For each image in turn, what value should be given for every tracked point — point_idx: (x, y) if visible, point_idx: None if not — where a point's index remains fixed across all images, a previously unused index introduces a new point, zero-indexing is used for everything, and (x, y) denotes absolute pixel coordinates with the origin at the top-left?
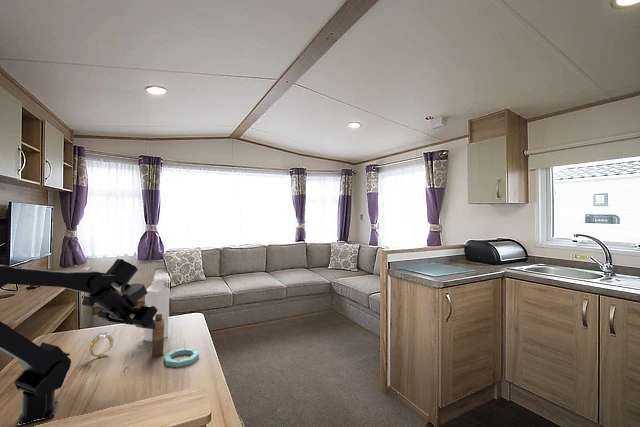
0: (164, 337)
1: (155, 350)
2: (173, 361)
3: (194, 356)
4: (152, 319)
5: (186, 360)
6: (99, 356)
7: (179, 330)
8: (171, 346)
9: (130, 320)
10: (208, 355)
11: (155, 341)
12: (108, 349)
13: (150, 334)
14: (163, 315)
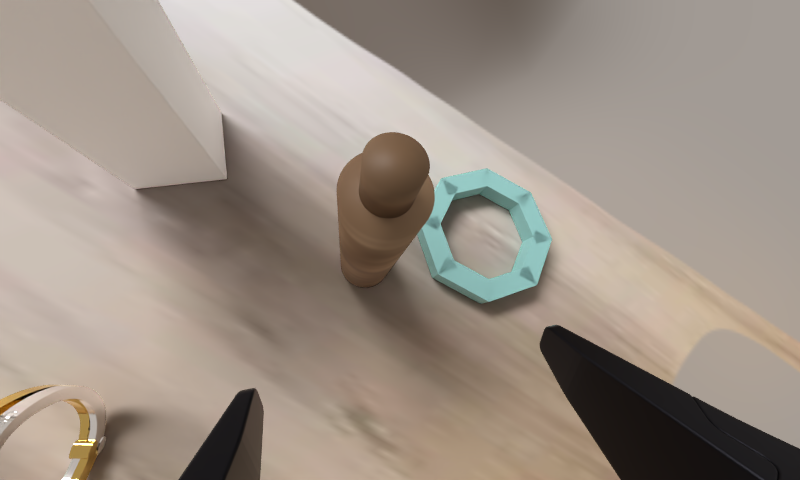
0: (222, 129)
1: (382, 277)
2: (517, 288)
3: (538, 216)
4: (733, 428)
5: (546, 254)
6: (93, 458)
7: (209, 45)
8: (336, 176)
9: (243, 471)
10: (525, 168)
11: (387, 269)
12: (87, 407)
13: (165, 165)
14: (151, 27)
